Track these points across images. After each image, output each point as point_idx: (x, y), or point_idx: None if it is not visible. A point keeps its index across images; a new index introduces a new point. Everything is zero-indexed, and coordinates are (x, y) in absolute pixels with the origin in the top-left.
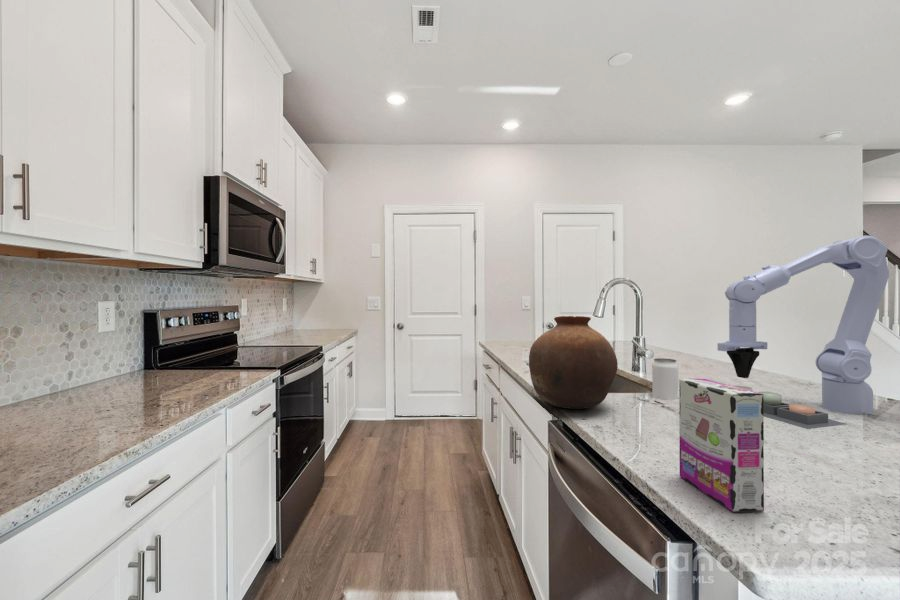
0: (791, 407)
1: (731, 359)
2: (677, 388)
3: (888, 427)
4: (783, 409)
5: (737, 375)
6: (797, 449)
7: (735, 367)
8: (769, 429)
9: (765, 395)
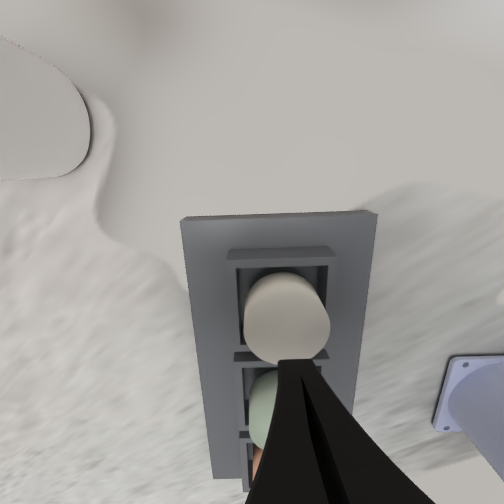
0: (254, 470)
1: (248, 497)
2: (8, 173)
3: (455, 459)
4: (241, 450)
5: (278, 369)
6: (123, 493)
7: (274, 417)
8: (172, 422)
9: (250, 434)
